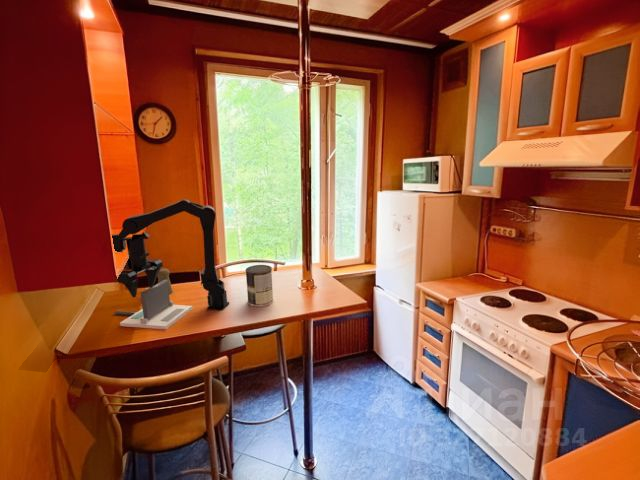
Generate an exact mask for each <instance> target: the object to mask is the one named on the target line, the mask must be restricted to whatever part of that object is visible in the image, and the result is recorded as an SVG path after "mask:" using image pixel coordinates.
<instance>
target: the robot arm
mask: <svg viewBox="0 0 640 480" xmlns="http://www.w3.org/2000/svg"><path fill="white" fill-rule="evenodd" d="M183 212H186V213H187V214H190V216H191V215H192V216H193V217H197V218H199V221H200V222H199V223H200V226H201V229H202V233H203V235H202V237H203V250H204V253H203V254H204V255H203V256H204V269H200V279H201V280H200V285H201V286H202V288H203V289H204V290H205V291H207V297H206V299H207V307H206V308H207V310H218V311H222V310H224V309H225V308H227V307H228V305H229V304H230V302H229V301H228V297H227V290H225V287H226V286H225V281H223V280H221V279H220V278H219V275H218V272H217V268H216V264H215V263H216V262H215V245H214V244H215V242H214V238H215V237H214V229H215V224H216V223H215V222H216V216H217V215H216V210H215V208H214V207H213V206H211V205H201V204H199V203H197V202H193V201H191V200H188V199H185V198H184V199H181V200H179V201H177V202H174V203H171V204H169V205H167V206H163V207H161V208H158V209H156V210H152V211H150V212H147V213H139V214H136V215H135V214H134V215H130V216H129V217H127V218H126V219H124V221H122V225H121V228H122V229H121V230H120V232H119V233H118V234H117V233H116V234H114V233H113V234H111V235H112V238H113V244H114V249H115V251H117V252H121V253H120V254H122V252H123V253H124V251H125V250H127V255H129V259H128V261H127V263H126V265H125V267H124V269H123V270H121V271H122V272H121V271H120V272H121V274H120V275H119V277H118V279H117V281H116V282H115V283H118V284H122V285H124V286H125V288H126V289H127V290H128V292H129V293H130V294H129V295H130V296H131V297H132V298H136V297H137V293H138V281H139V279H137V277H138V274H141V273H143V272H144V273H145V274H146V278H147V282H148V283H147V284H148V288H150V287H152V286H154V285H155V282H156V280H157V279H158V277H157V275H158V273H159V271H160V270H161V269H162V268H163V267H164V265H163V261H162V260H161V259H157V258H155V259H154V258H153V259H152V258H151V259H150V258H149V259H148V256H150V253H149V252H147V248H146V241H145V240H148V239H149V238H150V237H151V234H149V233H147V232H146V231H143V230H145V229H146V228H148V227H150V226H151V225H152V224H154V223H156V222H160V221H162V220H165V219H167V218H170V217H172V216H175V215H177V214H180V213H183ZM141 231H143V232H142V233H139V232H141ZM129 235H131V236H129Z"/></svg>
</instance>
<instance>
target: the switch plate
mask: <svg viewBox="0 0 640 480" xmlns="http://www.w3.org/2000/svg"><path fill="white" fill-rule="evenodd" d="M193 309H194V307H193V305H182V304H174V301H172V300H170V305H169V306H168V307H166V308H165V309H163V310H162V311H160V312H159V313H157V314H156V315H155V316H153V317H152V318H150V319H149V320H147V319H145V318H144V315H143V308H141V309H140V310H138V311H136V312H135V311H126V310H125V311H123V310H115V311H114V315H122V316H123V315H125V316H128V317H127V318H125V319H124V320H122V321H120V322H119V325H120V327H129V328H131V327H133V328H142V329H157V330H168V329H169V328H170V327H172V326H173V325H174V324H175V323H177V322H178V321H180V319H182V318H183V317H184V316H186V315H187V314H188V313H190V312H191V311H192V310H193Z"/></svg>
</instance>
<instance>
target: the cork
mask: <svg viewBox="0 0 640 480" xmlns="http://www.w3.org/2000/svg"><path fill="white" fill-rule="evenodd" d="M163 280H167V281H168V282H167V283H168V291H169V296H170V295H172V294H173V293H174V291H173V287H172V283H171V280H170V270H169V269H168V268H161V270H160V271H159V273H158V275H157V284H158V283H160V282H161V281H163Z"/></svg>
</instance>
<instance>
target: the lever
mask: <svg viewBox="0 0 640 480" xmlns="http://www.w3.org/2000/svg"><path fill="white" fill-rule="evenodd" d="M167 282H168V281H167V280H163V281H161V282H160V283H158V282H157V283H156V284H154V286H152V287H148V288H147V289H145V290H143V291H142V292H140V300H141V307H142V308H141V309H143V315H144V318H145V319H147V320H149V319H150V318H152V317H153V316H155V315H156V314H157V313H159V312H160V311H162V310H163V309H165V308H166V307H168V306H169V305H170V301H171V300H170V295H169V291H168V283H167Z"/></svg>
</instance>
